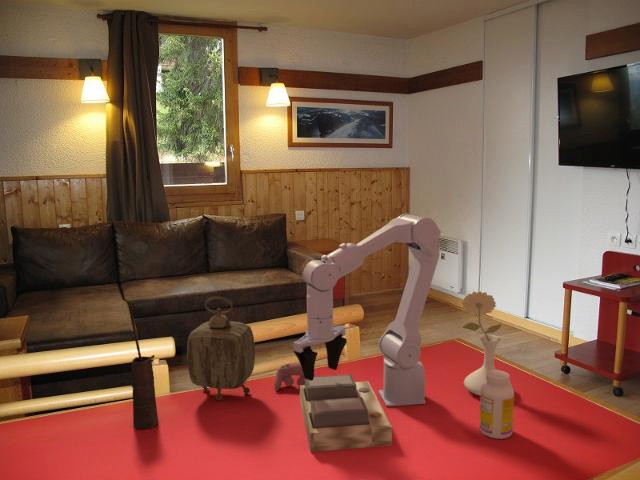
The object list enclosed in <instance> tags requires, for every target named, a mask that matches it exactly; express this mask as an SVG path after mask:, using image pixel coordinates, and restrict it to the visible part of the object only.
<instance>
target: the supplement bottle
mask: <svg viewBox="0 0 640 480" xmlns="http://www.w3.org/2000/svg"><path fill="white" fill-rule="evenodd" d="M486 380H487V382H486V383H484V384H483V385H482V387H481V396H480V399H479V400H480V402H479V403H480V407H479V430H480V432H481V433H482V434H483V435H484V436H486V437H489V438H492V439H497V440H498V439H503V440H504V439H507V438H509V437H511V436H512V434H513V431H514V430H513V428H514V427H513V426H514V402H515V390H514V388H513V386H512V387H511V386H510V385H508V384H509V382H511V376H510V373H508V372H506V371H504V370H500V369H497V370H491V371H488V372H487V373H486Z"/></svg>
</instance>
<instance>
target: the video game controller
mask: <svg viewBox="0 0 640 480" xmlns="http://www.w3.org/2000/svg"><path fill="white" fill-rule="evenodd" d="M293 376H299V377H298V378H297V380H296V384H297V386H298V387H300V385H305V377H304V373H303V370H302V367H301V364H300V362H299V363H297V362H296V363H295V362H294V363H290V362H289V363H286V364H282V365H280V367H278V369H277V370H276V374H275V378H274V390H275V392H278V391H279V390H280V389H281V386H282V384H283V382H284V384H285V386H286V387H292V386H293V385H294V383H295V381H294V378H293Z"/></svg>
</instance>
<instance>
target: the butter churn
mask: <svg viewBox="0 0 640 480" xmlns="http://www.w3.org/2000/svg"><path fill="white" fill-rule="evenodd" d="M127 305H128V310H129V316H130V320H131V325H132V330H133V331H132V332H133V336H134V341H135V345H136V349H137V356H135V357H134V358H133V359H132V361H131V388H132V420H133V421H132V423H133V427H134V428H135V429H137V430H146V429H148V428H153V427H155V426H156V425H157V424H158V423H159V417H158V416H159V415H158V407H157V401H156V399H157V398H156V390H155V389H156V388H155V375H154V374H155V373H154V370H153V363H152V362H153V360H152V359H154V358H155V357H156V356H155V355H154V354H153V355H151V356H142V354H141V350H140V349H141V348H140V344H139V343H140V342H139V340H138V339H139V338H138V334H137V330H136V329H137V328H136V323H135V317H134V314H133V310H132V305H131V301H130V300H127Z"/></svg>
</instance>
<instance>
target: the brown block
mask: <svg viewBox="0 0 640 480" xmlns="http://www.w3.org/2000/svg"><path fill="white" fill-rule="evenodd" d="M311 419H312V423H313V427H314V429H315V428H329V427H342V426H356V425H368V409H367V407H366V405H365V403H364V401H363V398H362V397H356V398H342V399H327V400H312V401H311Z"/></svg>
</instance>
